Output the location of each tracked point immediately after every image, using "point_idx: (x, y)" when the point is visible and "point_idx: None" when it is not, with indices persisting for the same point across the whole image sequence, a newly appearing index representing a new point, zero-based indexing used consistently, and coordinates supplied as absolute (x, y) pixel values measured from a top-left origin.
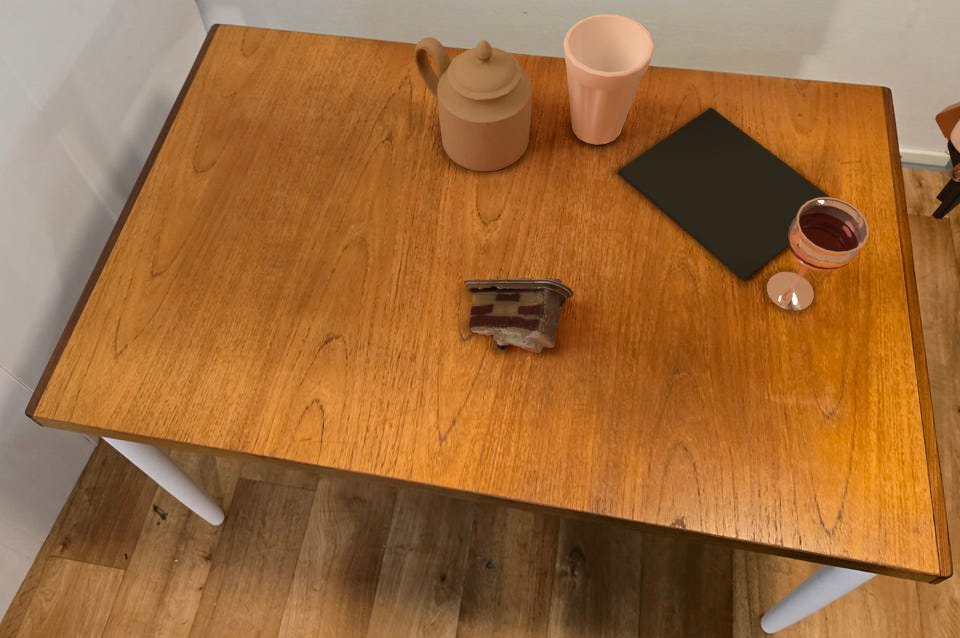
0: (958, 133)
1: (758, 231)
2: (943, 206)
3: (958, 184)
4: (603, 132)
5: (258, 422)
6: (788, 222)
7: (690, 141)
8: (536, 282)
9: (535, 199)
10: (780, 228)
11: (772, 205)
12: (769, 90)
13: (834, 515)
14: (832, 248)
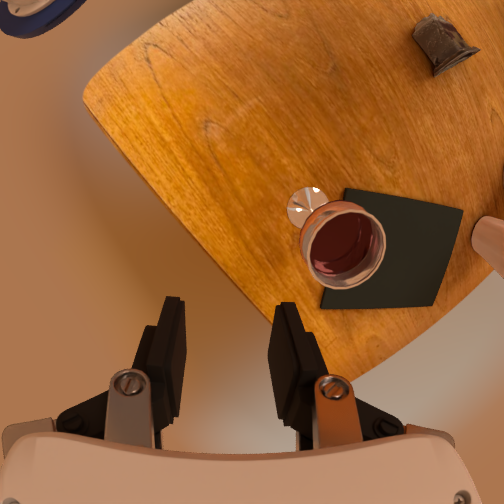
0: (457, 464)
1: None
2: (295, 323)
3: (315, 373)
4: (486, 226)
5: None
6: None
7: (435, 271)
8: (468, 51)
9: (485, 148)
10: None
11: None
12: (401, 345)
13: (151, 57)
14: (324, 237)
